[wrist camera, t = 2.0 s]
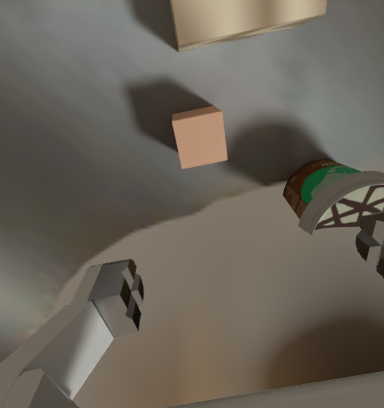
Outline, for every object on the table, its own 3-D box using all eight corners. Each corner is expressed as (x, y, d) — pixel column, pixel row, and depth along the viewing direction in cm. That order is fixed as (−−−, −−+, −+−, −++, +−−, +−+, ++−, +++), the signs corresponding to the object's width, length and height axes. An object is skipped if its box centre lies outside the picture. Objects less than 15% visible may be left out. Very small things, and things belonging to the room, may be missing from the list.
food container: (365, 146, 31) (441, 171, 22) (354, 187, 34) (417, 224, 25) (276, 155, 31) (317, 185, 22) (272, 196, 34) (307, 236, 25)
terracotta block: (181, 153, 30) (182, 169, 25) (172, 113, 27) (171, 121, 22) (218, 146, 30) (227, 160, 24) (213, 105, 27) (222, 111, 22)
